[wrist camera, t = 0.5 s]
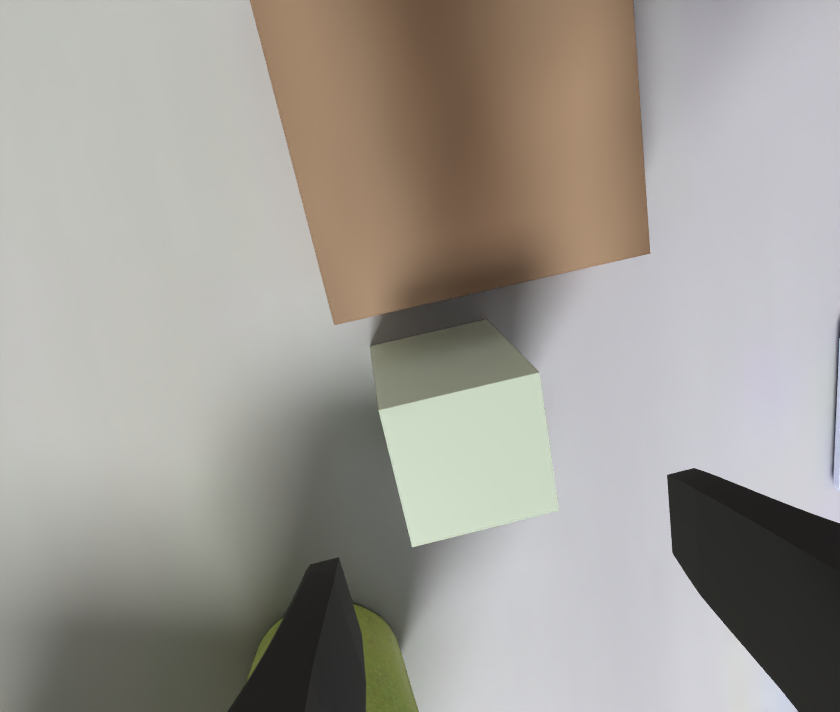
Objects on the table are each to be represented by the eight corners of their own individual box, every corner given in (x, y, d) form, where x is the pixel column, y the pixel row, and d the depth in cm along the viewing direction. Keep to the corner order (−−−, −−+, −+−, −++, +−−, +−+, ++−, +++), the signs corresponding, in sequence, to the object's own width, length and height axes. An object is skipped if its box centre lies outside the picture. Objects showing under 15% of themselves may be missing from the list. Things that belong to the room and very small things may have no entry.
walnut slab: (578, -83, 17) (623, -135, 14) (607, 242, 20) (650, 253, 18) (253, -21, 17) (234, -62, 14) (335, 303, 20) (334, 325, 17)
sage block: (486, 318, 21) (539, 372, 15) (504, 425, 22) (558, 510, 16) (369, 345, 21) (378, 410, 15) (395, 451, 22) (412, 547, 16)
